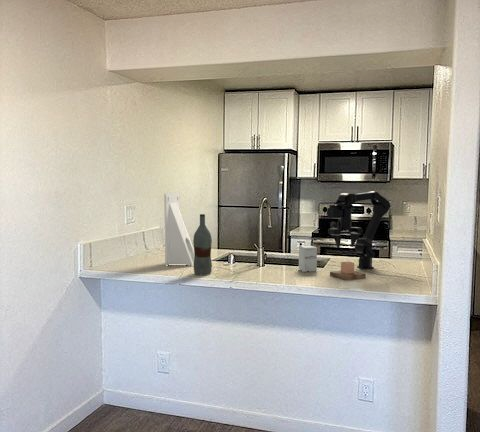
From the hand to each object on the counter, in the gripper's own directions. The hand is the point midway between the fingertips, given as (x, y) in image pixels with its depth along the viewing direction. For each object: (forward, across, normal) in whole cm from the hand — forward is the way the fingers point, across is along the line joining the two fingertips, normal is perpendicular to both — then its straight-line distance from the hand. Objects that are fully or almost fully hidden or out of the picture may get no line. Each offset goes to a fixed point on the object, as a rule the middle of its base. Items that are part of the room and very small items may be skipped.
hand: (345, 247), depth 242 cm
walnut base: (+12, +10, +14) cm, 21 cm away
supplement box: (+12, +18, -8) cm, 23 cm away
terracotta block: (+10, +10, +14) cm, 20 cm away
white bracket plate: (+12, +69, -55) cm, 89 cm away
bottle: (+12, +70, -25) cm, 75 cm away
